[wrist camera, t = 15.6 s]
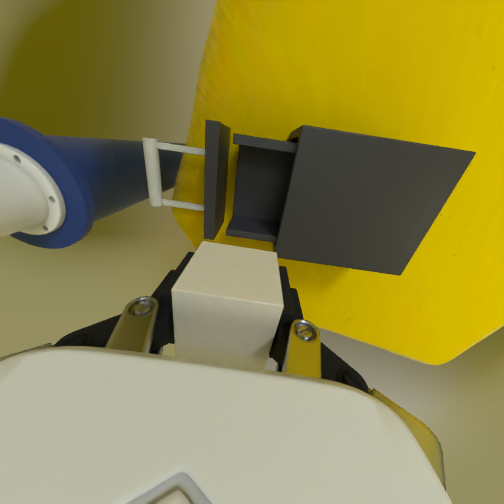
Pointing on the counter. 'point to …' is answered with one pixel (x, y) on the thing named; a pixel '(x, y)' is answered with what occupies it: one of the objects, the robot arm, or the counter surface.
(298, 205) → the dark grey drawer box
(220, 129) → the dark grey drawer
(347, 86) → the counter surface
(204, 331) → the block
